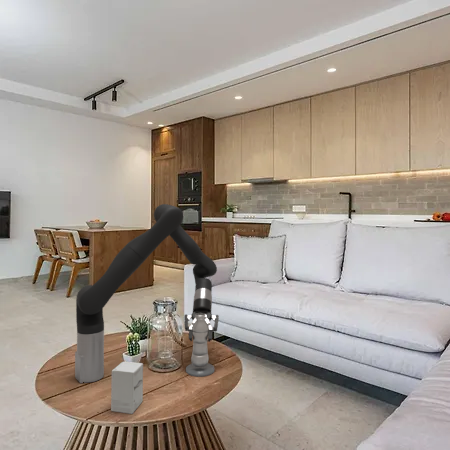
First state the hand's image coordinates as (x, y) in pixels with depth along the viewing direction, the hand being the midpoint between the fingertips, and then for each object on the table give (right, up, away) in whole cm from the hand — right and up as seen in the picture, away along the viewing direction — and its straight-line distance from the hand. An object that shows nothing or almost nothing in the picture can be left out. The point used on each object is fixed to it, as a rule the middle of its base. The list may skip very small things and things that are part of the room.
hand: (200, 340), depth 135 cm
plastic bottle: (0, -10, +2) cm, 11 cm away
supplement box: (-21, -13, -25) cm, 35 cm away
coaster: (0, -12, +2) cm, 12 cm away
